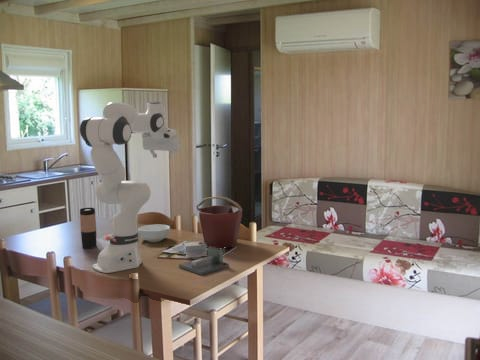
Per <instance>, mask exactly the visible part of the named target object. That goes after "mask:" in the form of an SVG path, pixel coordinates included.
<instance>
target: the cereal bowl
mask: <svg viewBox="0 0 480 360" xmlns="http://www.w3.org/2000/svg"><path fill="white" fill-rule="evenodd" d="M137 232H138V237H140V239H142V240H145V241H147V242H148V243H149V242H150V243H157V242H162V240H164V239H166V238H167V237H169V236H170V233H171V227H170V225H167V224H161V223H160V224H158V223H157V224H156V223H154V224H147V225H142V226H140V227H137Z"/></svg>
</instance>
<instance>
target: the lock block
mask: <svg viewBox="0 0 480 360" xmlns="http://www.w3.org/2000/svg"><path fill="white" fill-rule="evenodd" d="M184 254H186V255H185V259H191V258H190V257H196V258H202V257H201V256H207V257H208V249H207V247H206V243H205V242H204V240H203V241H202V240H201V241H191V242H183V255H184Z"/></svg>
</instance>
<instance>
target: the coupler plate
mask: <svg viewBox="0 0 480 360" xmlns="http://www.w3.org/2000/svg"><path fill="white" fill-rule="evenodd" d="M223 251H224V249H220V248H216V247H213V246H210V247H207V257H199V258H197V259H193V260H190V261H187V262H181V263H179V264H178V268H180V269H181V270H185V271H188V272H191V273H194V274H196V275H199V276H205V275H208V274H212V273H215V272H219V271H221V270H224V269H227V268H230V264H229V263H227V262H224V254H223V253H224V252H223Z"/></svg>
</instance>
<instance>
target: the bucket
mask: <svg viewBox="0 0 480 360" xmlns="http://www.w3.org/2000/svg"><path fill="white" fill-rule="evenodd" d="M212 199H213V200H214V199H215V200H216V199H218V200H224V201H226V202H229V203H230V204H232V205H210V206H204V207H200V206H202V205H203V204H204V203H205V201H208V200H212ZM195 206H196V210H197V211H198V216H199V217H198V218H199V223H200V227H201V232H202V237H203V241H204V242H205V243H206V246H208V247H210V246H213V247H216V248H224V247H232V246H233V247H235V246H236V245H237V244H238V239H239V234H240V227H241V222H242V218H243V217H242V216H243V208H242V206H241V205H240V204H239V203H238V202H236V201H235V200H233V199H230V198H229V197H226V196H211V197H205V198H203V199H201V201H200V202H199V203H197V204H196V205H195ZM234 245H235V246H234ZM208 247H207V248H208ZM233 247H232V248H233Z"/></svg>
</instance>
